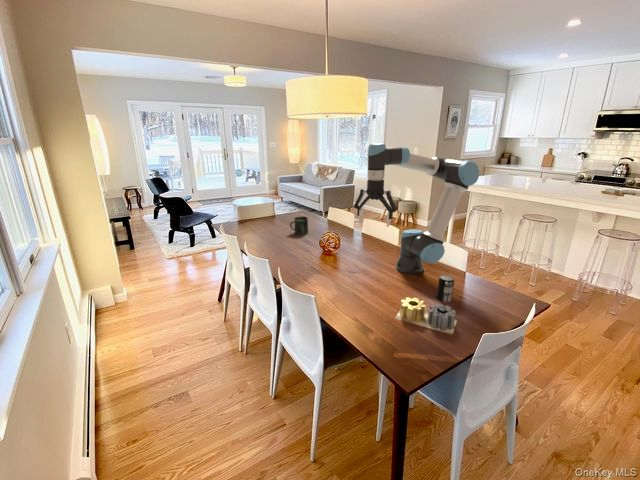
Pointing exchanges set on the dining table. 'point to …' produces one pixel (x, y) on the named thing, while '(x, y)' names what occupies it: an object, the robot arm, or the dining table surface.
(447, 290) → the beverage can
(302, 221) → the mug
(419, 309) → the brass gear
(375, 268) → the dining table surface
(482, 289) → the dining table surface
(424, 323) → the gear board
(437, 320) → the gear
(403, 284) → the dining table surface
